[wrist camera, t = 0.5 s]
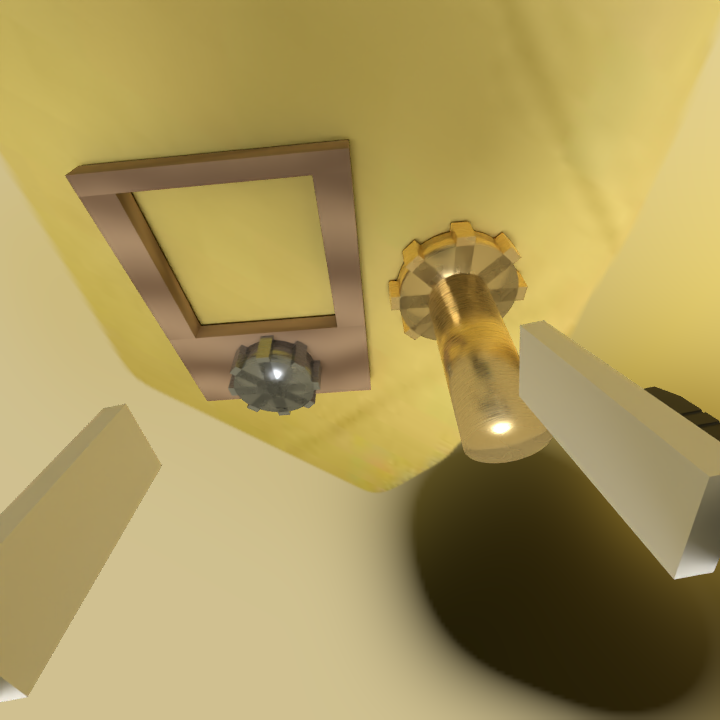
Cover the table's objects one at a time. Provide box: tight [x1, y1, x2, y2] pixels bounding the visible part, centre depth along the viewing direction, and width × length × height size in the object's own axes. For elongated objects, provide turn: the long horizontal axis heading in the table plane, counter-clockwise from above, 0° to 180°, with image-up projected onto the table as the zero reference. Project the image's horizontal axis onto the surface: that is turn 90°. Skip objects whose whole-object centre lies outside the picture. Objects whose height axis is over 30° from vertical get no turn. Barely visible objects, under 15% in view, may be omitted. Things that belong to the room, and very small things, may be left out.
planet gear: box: [389, 222, 552, 463], centre depth 24 cm, size 10×10×14 cm
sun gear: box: [228, 335, 322, 415], centre depth 32 cm, size 8×8×2 cm
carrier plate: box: [65, 140, 371, 401], centre depth 28 cm, size 21×16×2 cm
